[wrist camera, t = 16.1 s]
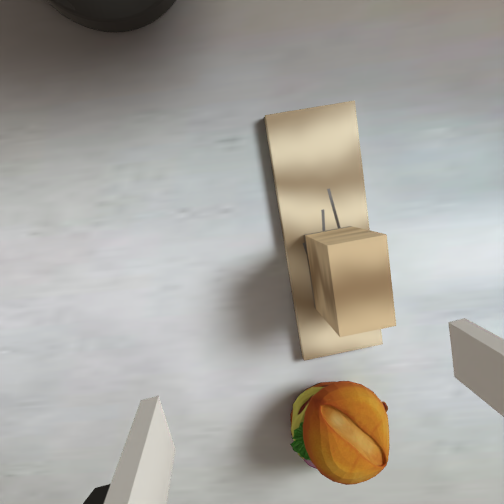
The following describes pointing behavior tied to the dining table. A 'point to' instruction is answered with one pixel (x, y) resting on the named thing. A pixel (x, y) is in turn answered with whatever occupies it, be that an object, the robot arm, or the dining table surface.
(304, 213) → the board
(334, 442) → the cheeseburger
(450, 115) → the dining table surface
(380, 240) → the block
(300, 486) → the dining table surface
